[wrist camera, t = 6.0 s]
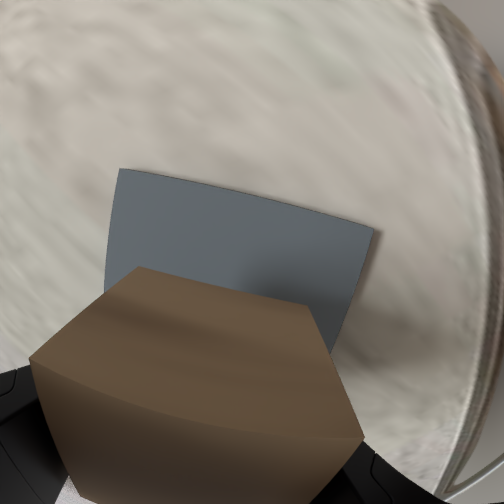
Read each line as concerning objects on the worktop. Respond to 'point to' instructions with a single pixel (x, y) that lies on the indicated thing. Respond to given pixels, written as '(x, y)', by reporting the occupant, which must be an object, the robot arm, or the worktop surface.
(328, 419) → the walnut cube
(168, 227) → the slate pad
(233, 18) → the worktop surface
